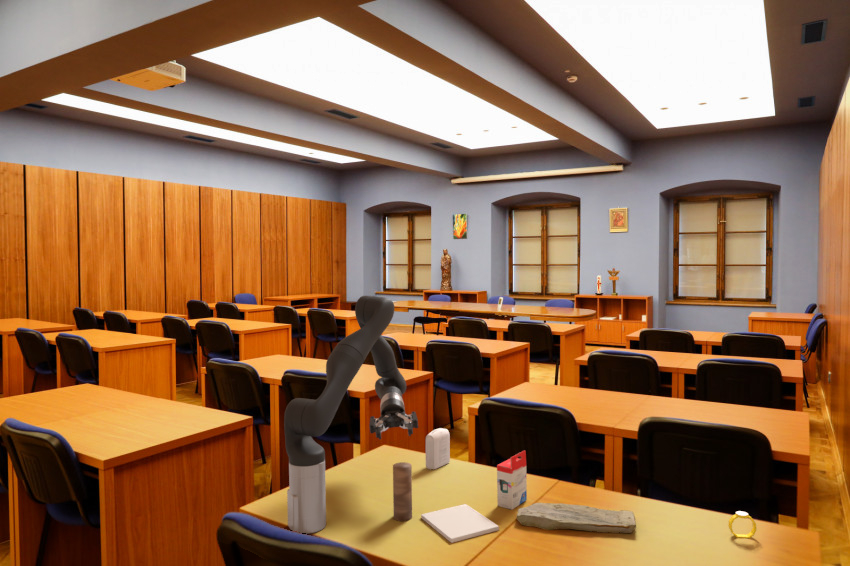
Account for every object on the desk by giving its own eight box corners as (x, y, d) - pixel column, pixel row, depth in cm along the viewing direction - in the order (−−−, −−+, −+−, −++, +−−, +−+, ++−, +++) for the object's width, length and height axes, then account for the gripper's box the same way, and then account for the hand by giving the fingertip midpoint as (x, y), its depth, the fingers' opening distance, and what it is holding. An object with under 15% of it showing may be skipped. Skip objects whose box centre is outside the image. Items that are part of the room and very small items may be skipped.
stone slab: (518, 498, 159) (632, 502, 153) (519, 513, 159) (632, 517, 153) (515, 516, 147) (639, 521, 140) (516, 532, 147) (640, 538, 140)
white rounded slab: (441, 460, 200) (441, 424, 200) (451, 462, 197) (451, 426, 197) (423, 468, 192) (423, 431, 191) (434, 471, 189) (433, 433, 189)
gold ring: (732, 540, 140) (730, 515, 139) (727, 534, 142) (726, 511, 142) (758, 539, 139) (756, 515, 139) (753, 534, 141) (751, 510, 141)
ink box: (512, 496, 167) (511, 446, 167) (527, 500, 164) (526, 449, 164) (496, 506, 161) (496, 454, 160) (512, 510, 157) (511, 457, 157)
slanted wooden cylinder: (398, 522, 151) (397, 469, 150) (390, 515, 155) (389, 464, 155) (415, 518, 153) (414, 466, 153) (407, 511, 157) (406, 461, 157)
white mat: (451, 542, 139) (451, 538, 139) (421, 518, 153) (421, 514, 153) (498, 530, 146) (498, 526, 146) (465, 507, 160) (465, 503, 160)
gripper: (368, 400, 177) (368, 425, 162) (414, 395, 178) (418, 420, 163) (370, 422, 179) (371, 449, 163) (416, 416, 180) (420, 443, 165)
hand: (394, 434), depth 163 cm, fingers open, 8 cm apart
